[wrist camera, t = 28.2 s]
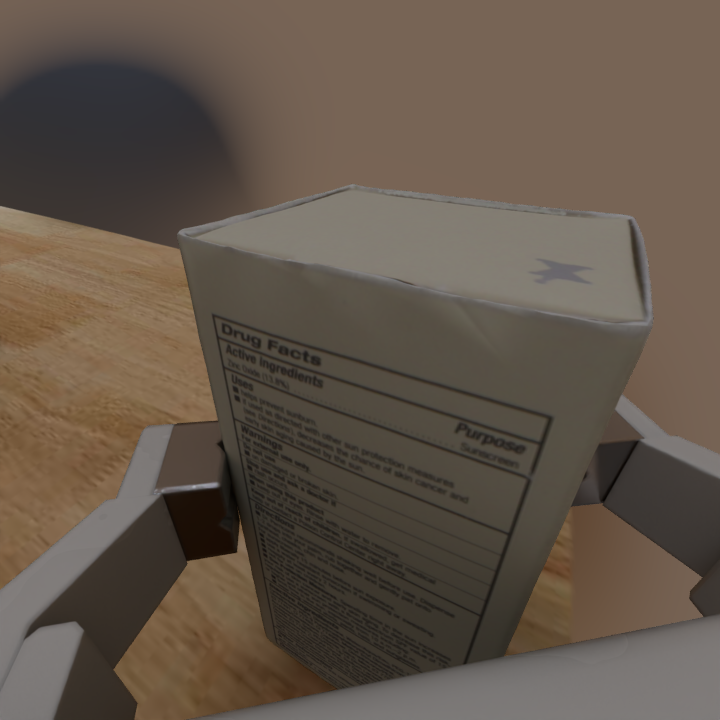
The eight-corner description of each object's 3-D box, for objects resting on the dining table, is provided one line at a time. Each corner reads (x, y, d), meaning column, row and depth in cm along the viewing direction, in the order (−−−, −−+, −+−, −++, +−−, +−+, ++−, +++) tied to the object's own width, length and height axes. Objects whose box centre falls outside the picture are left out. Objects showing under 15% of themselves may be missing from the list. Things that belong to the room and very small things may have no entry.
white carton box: (503, 584, 11) (662, 214, 6) (453, 775, 8) (705, 352, 3) (344, 504, 13) (350, 173, 8) (253, 632, 10) (156, 223, 5)
